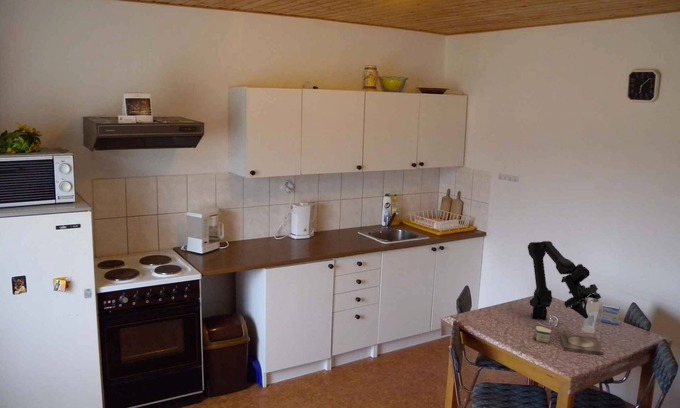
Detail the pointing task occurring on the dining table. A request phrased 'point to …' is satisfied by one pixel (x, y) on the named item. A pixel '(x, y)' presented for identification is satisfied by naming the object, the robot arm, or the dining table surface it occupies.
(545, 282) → the robot arm
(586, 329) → the beer glass
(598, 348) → the walnut board
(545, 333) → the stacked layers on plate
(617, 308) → the medicine box
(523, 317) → the dining table surface
